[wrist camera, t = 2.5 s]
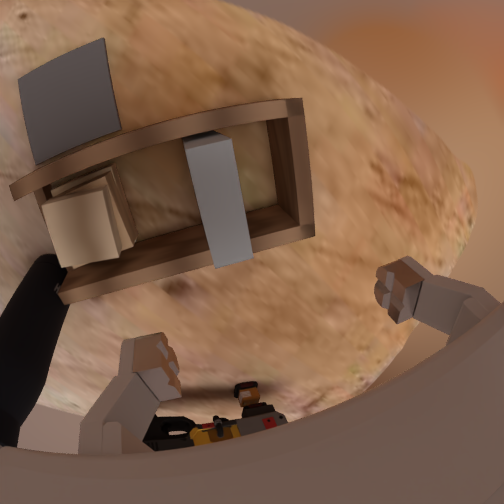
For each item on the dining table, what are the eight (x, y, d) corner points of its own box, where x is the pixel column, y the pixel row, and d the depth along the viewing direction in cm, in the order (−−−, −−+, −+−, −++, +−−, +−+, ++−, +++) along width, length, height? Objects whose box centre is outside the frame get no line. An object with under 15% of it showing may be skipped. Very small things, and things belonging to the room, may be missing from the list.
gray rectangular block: (201, 219, 29) (215, 268, 21) (181, 136, 25) (185, 149, 16) (228, 212, 30) (253, 257, 21) (212, 129, 25) (231, 139, 17)
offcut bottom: (84, 248, 28) (79, 259, 26) (59, 184, 24) (50, 190, 22) (138, 231, 29) (136, 241, 27) (116, 161, 25) (110, 166, 22)
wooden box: (78, 273, 28) (64, 305, 23) (36, 169, 21) (8, 185, 16) (292, 213, 32) (315, 236, 27) (277, 99, 25) (302, 97, 20)
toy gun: (270, 385, 50) (301, 449, 38) (121, 402, 41) (129, 477, 28) (276, 364, 47) (312, 433, 35) (114, 381, 38) (118, 464, 25)
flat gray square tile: (38, 164, 21) (35, 165, 21) (20, 79, 16) (17, 79, 16) (121, 129, 23) (120, 129, 22) (104, 39, 18) (103, 37, 17)
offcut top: (67, 257, 23) (61, 267, 21) (50, 198, 20) (41, 205, 18) (122, 246, 24) (119, 257, 22) (108, 184, 21) (102, 190, 19)
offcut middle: (79, 256, 26) (73, 268, 23) (52, 197, 22) (42, 206, 20) (136, 235, 26) (133, 246, 24) (111, 170, 23) (104, 176, 21)
